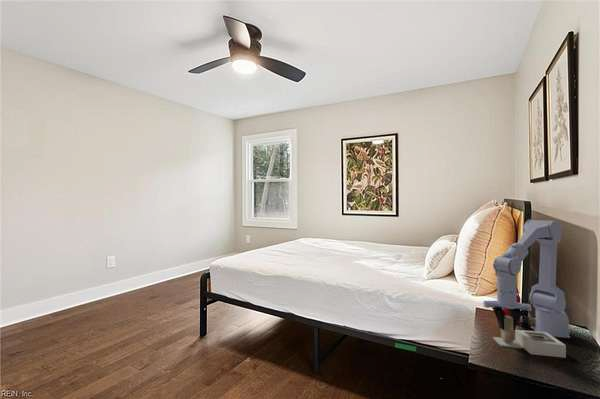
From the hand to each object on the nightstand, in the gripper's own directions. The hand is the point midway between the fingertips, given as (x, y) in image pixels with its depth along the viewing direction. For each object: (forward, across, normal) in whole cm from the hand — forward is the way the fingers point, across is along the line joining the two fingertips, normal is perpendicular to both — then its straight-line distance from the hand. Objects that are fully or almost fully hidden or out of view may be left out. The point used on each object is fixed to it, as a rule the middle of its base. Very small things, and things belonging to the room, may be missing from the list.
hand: (506, 328), depth 105 cm
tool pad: (+5, 0, 0) cm, 5 cm away
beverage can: (+5, +12, +24) cm, 27 cm away
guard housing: (+5, +9, -2) cm, 11 cm away
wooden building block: (+4, 0, 0) cm, 4 cm away
